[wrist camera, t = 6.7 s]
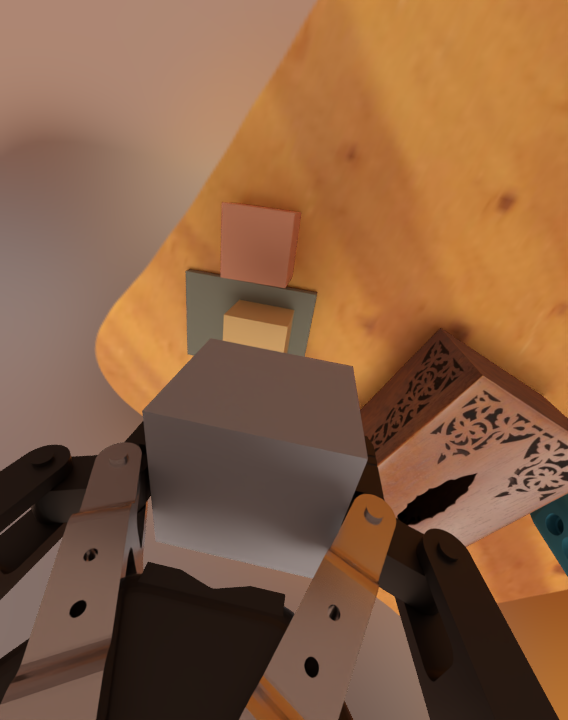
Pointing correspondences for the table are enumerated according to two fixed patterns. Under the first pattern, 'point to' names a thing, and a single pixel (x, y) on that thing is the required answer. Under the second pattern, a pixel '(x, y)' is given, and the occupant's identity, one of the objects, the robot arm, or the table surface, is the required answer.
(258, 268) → the terracotta block
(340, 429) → the slate block
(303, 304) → the felt mat
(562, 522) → the block
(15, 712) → the robot arm
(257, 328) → the ochre block
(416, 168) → the table surface
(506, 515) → the tissue box cover
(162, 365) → the table surface
